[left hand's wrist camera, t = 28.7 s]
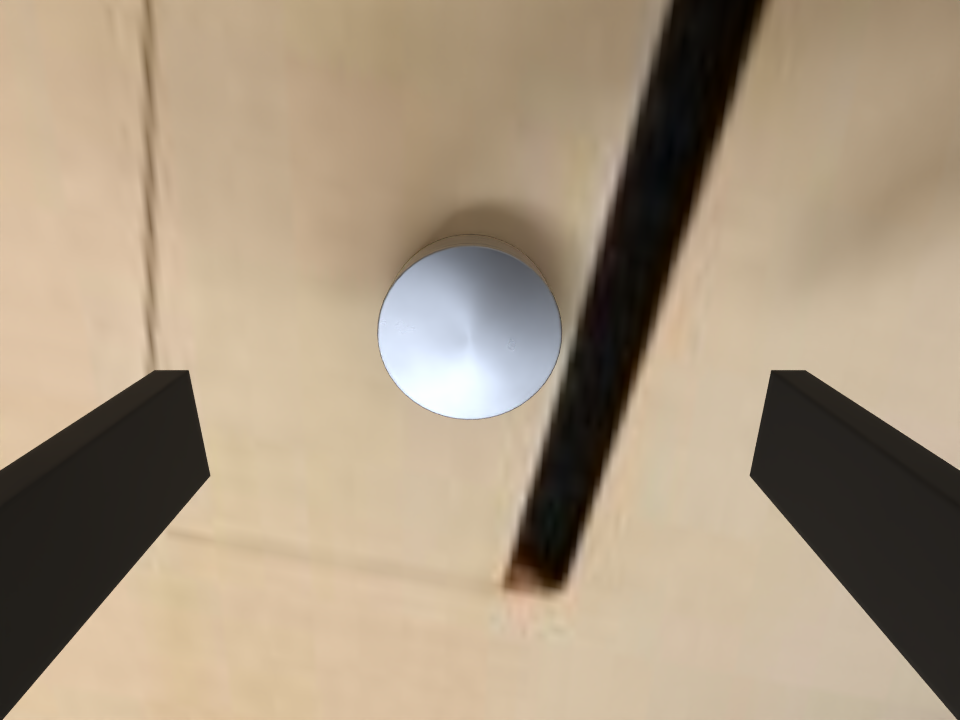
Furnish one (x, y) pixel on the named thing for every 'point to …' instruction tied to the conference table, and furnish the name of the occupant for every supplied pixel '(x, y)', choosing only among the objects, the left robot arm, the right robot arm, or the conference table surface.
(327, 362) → the conference table surface
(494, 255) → the lid
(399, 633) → the conference table surface
